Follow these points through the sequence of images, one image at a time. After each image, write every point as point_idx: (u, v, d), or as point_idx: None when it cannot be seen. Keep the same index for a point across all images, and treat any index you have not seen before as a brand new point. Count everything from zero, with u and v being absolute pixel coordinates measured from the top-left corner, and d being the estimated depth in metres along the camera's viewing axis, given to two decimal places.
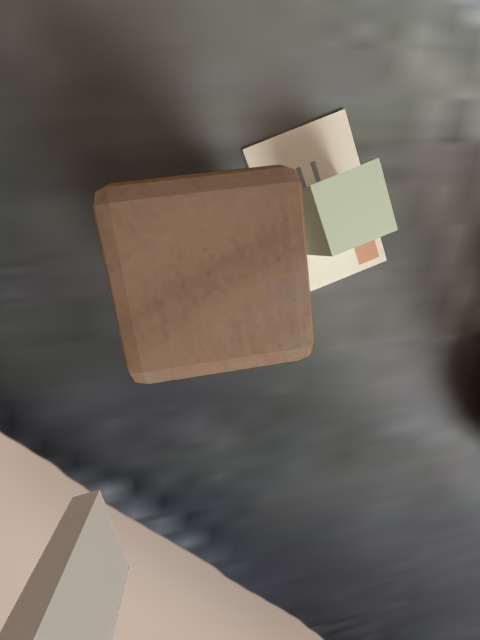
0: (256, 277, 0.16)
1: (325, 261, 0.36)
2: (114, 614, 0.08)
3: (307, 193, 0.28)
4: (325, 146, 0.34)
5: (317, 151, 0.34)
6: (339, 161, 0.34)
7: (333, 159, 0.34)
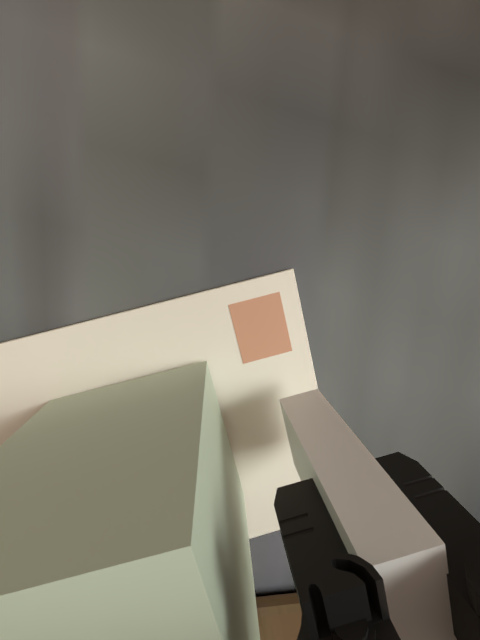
0: None
1: (268, 439, 0.14)
2: None
3: None
4: None
5: None
6: (2, 398, 0.12)
7: None
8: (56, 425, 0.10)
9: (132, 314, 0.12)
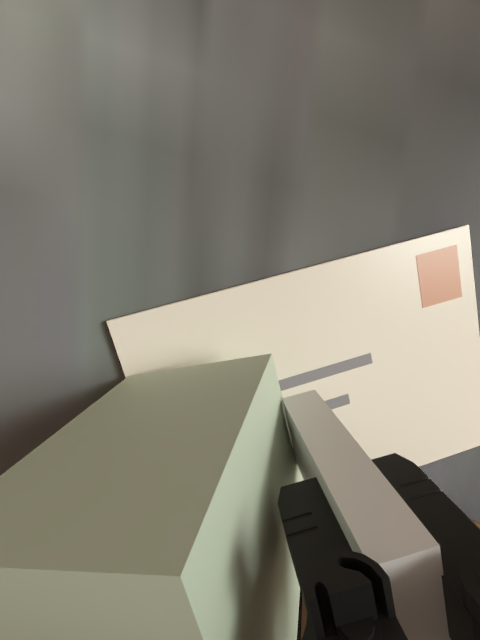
0: None
1: (436, 376, 0.16)
2: None
3: None
4: None
5: None
6: (227, 337, 0.14)
7: (223, 352, 0.14)
8: (124, 402, 0.11)
9: (340, 263, 0.14)
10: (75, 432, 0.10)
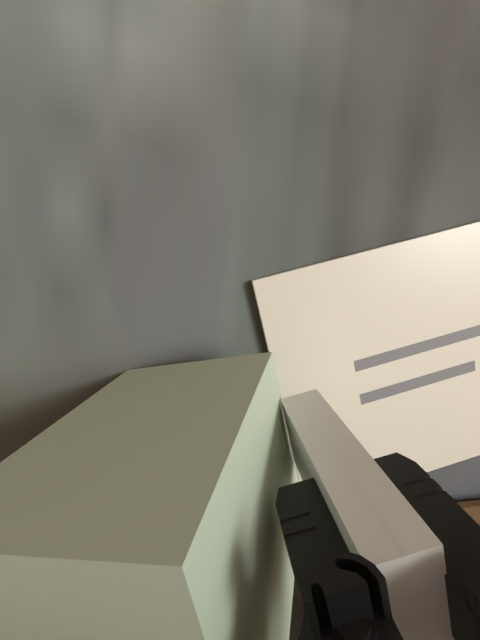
0: None
1: None
2: None
3: None
4: (328, 333, 0.14)
5: (335, 353, 0.14)
6: (364, 299, 0.14)
7: (359, 314, 0.14)
8: (123, 395, 0.11)
9: (477, 226, 0.14)
10: (73, 423, 0.09)
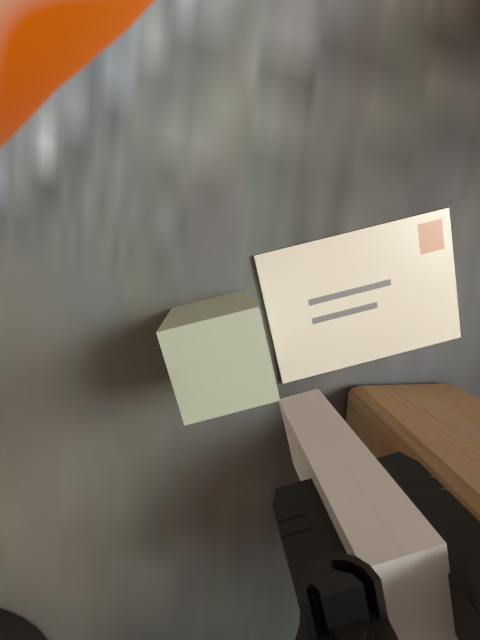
0: None
1: (428, 294, 0.28)
2: None
3: None
4: (293, 284, 0.27)
5: (298, 295, 0.27)
6: (313, 266, 0.27)
7: (310, 274, 0.27)
8: (187, 308, 0.24)
9: (375, 228, 0.26)
10: (177, 314, 0.23)
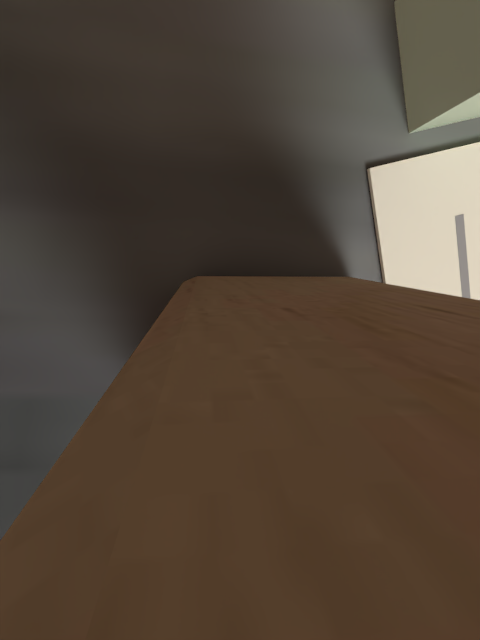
0: None
1: None
2: None
3: None
4: None
5: None
6: None
7: None
8: None
9: None
10: None
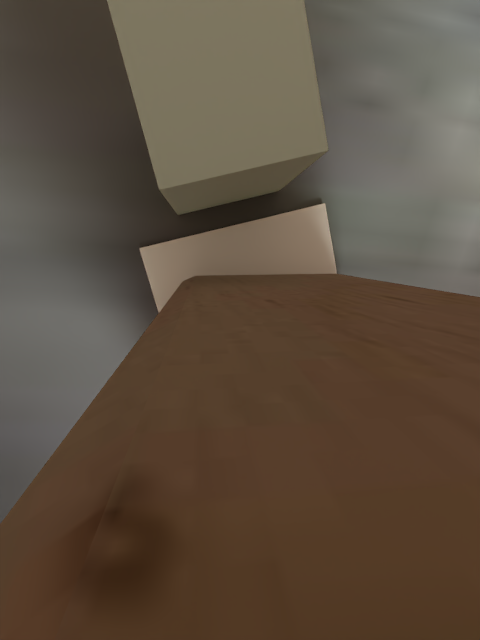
0: None
1: None
2: None
3: None
4: (285, 259, 0.20)
5: (270, 266, 0.20)
6: None
7: None
8: None
9: None
10: None
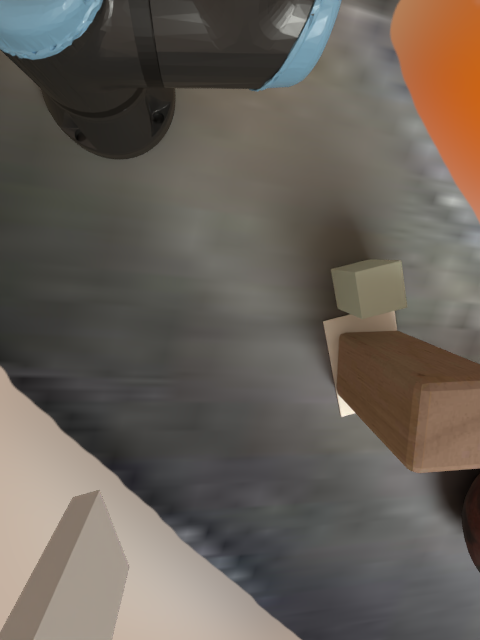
0: None
1: None
2: (114, 614, 0.08)
3: (351, 275, 0.42)
4: (377, 324, 0.51)
5: (371, 327, 0.50)
6: None
7: None
8: None
9: None
10: None
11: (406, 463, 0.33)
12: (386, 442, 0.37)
